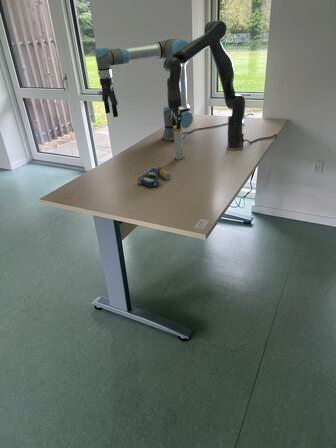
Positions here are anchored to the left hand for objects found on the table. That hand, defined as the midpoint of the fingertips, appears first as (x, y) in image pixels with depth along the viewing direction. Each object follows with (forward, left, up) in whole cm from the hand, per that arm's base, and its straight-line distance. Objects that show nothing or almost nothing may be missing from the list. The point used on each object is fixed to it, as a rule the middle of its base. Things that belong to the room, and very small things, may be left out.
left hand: (111, 114), depth 206 cm
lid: (-31, +27, -8) cm, 42 cm away
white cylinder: (-31, +27, -28) cm, 50 cm away
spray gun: (-3, +48, -28) cm, 55 cm away
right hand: (-26, +35, -6) cm, 43 cm away
